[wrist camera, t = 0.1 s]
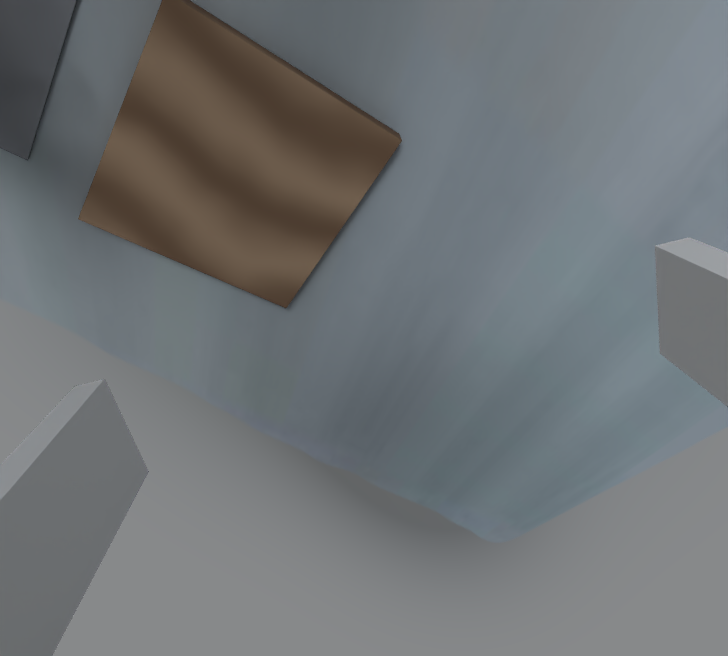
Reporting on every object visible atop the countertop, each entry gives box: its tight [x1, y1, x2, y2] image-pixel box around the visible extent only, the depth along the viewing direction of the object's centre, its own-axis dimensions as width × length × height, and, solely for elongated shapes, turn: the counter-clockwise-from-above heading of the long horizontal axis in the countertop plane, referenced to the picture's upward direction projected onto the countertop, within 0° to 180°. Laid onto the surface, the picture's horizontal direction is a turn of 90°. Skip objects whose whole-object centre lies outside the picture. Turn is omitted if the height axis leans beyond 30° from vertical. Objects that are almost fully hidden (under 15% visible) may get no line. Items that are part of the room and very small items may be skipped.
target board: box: [78, 0, 402, 308], centre depth 38 cm, size 16×16×1 cm
